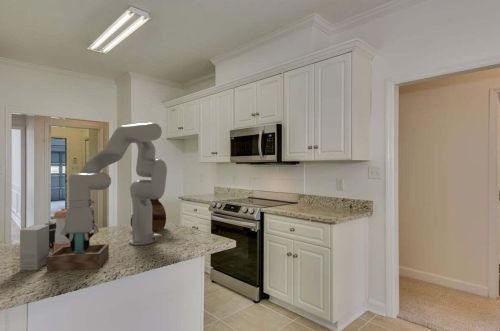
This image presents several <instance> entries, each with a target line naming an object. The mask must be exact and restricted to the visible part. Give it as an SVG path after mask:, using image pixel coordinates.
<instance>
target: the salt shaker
mask: <svg viewBox="0 0 500 331" xmlns="http://www.w3.org/2000/svg"><path fill="white" fill-rule="evenodd" d="M66 211H67V209H66V208H61V209H59V210H57V211H55V212H54V215H53V216H54V218H56V219H55V220H56V221H55V222H56V231H55V243H54V247H53V252H55V251H56V250H57V249H59V248H60V247H62V246H70V241H69V239H68V238H67V237H66V236H64V235H62V234H60V232H61V231H62V229H63V228H64V227H65V216H66Z"/></svg>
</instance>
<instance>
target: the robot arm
mask: <svg viewBox="0 0 500 331" xmlns="http://www.w3.org/2000/svg"><path fill="white" fill-rule="evenodd" d="M162 132H163V131H162V127H161V126H160V125H159V124H158V123H157V122H156V123H155V122H148V123H147V122H146V123H145V122H144V123H143V122H142V123H135V124H126V125H125V124H124V125H123V124H122V125H120V126H118V127H117V128H116V129H115V130H114V131H113V132H112V135H111V136H110V138H109V139H108V141H107V143H106V145H105V146H104V147H103V149H102V150H100V151H99V152H98V153H96V154H95V155H94V156H92V157H91V158H90V159H89V160H88V161H87V162H85V164H84V165H83V167H82V169H81V170H80V172H79V173H77V172H76V173H71V174H69V176H68V207H67V208H66V210H67V211H66V216H65V227H64V228H63V229H62V231H61V232H60V234H62V235H64V236H66V237H67V238H68V239H69V241H70V248H72V251H74V250H75V245H74V233H78V232H80V233H84V235H85V240H84V250H87V249H88V247H89V245H90V239H91V238H92V237H93V236H94V235H96V234H97V233H99V232H100V230H99V228H98V226H97V225H96V219H95V211H94V210H95V209H94V206H92V205H94V204H95V200H92V198H91V191H94V190H95V191H103V190H106V189H108V188H109V187H110V186H111V184H112V177H111V176H110V175H109V174H108V173H105V172H101V171H102V170H103V169H105V168H106V167H108V166H110V165H112V164H115V163H117V162H119V161H120V160H122V159H123V157H124V155H125V153H126V152H127V150H128V148H129V146H130V145H131V144H136V146H137V159H136V168H135V172H136V175H137V176H139V177H141V178H150V179H137V180H135V181H134V182H132V183H131V185H130V186H129V187H130V188H129V191H130V192H129V193H130V197H131V204H132V206H131V208H132V210H131V211H132V215H131V217H132V226H131V228H132V232H131V234H132V238H130V239H129V241H128V244H130V245H132V246H143V245H144V246H145V245H150V244H153V243H154V242H156V239H161V238H162V234H161V233H155V232H154V231H152V204H151V201H150V199H158V200H160V199H162V198H163V196H164V193H165V190H166V183H167V182H166V181H167V176H168V175H167V174H168V168H167V164H166V162H165V161H164V160H163V159H162V158H156V148H155V147H156V146H155V145H154V142H153V141H157V140H159V139H160V138H161V136H162Z"/></svg>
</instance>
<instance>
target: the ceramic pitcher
mask: <svg viewBox="0 0 500 331" xmlns="http://www.w3.org/2000/svg"><path fill="white" fill-rule="evenodd" d="M150 201H151V204H152V231H153V232H154V231H158V230H162V229H164V228H165V226H166V223H167V214H166V209H165V207H164V205H163V204H162V202H161V201H160V199H150ZM130 226H131V227H132V216H131V217H130Z"/></svg>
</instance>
